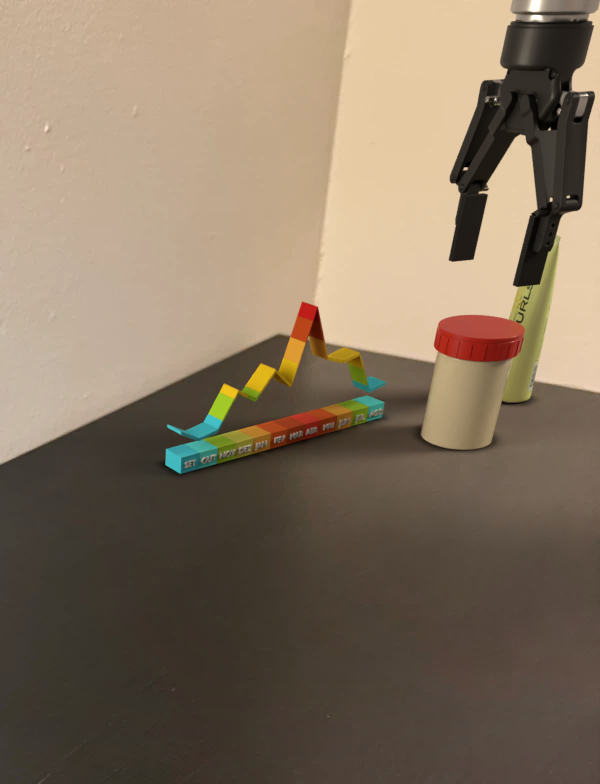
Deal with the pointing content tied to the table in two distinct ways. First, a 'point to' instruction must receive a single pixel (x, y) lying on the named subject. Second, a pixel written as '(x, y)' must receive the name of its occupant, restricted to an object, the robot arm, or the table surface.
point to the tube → (531, 329)
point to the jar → (464, 402)
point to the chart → (284, 428)
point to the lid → (479, 338)
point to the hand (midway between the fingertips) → (492, 272)
